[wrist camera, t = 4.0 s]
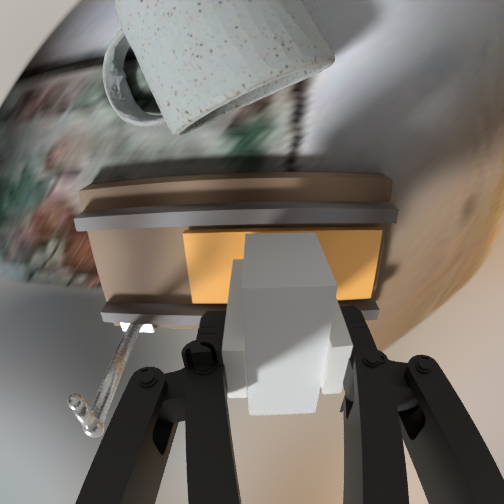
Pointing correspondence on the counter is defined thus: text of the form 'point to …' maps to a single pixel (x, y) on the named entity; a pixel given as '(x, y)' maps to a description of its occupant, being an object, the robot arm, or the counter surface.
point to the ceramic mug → (210, 56)
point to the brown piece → (211, 217)
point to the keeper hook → (107, 383)
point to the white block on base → (284, 299)
